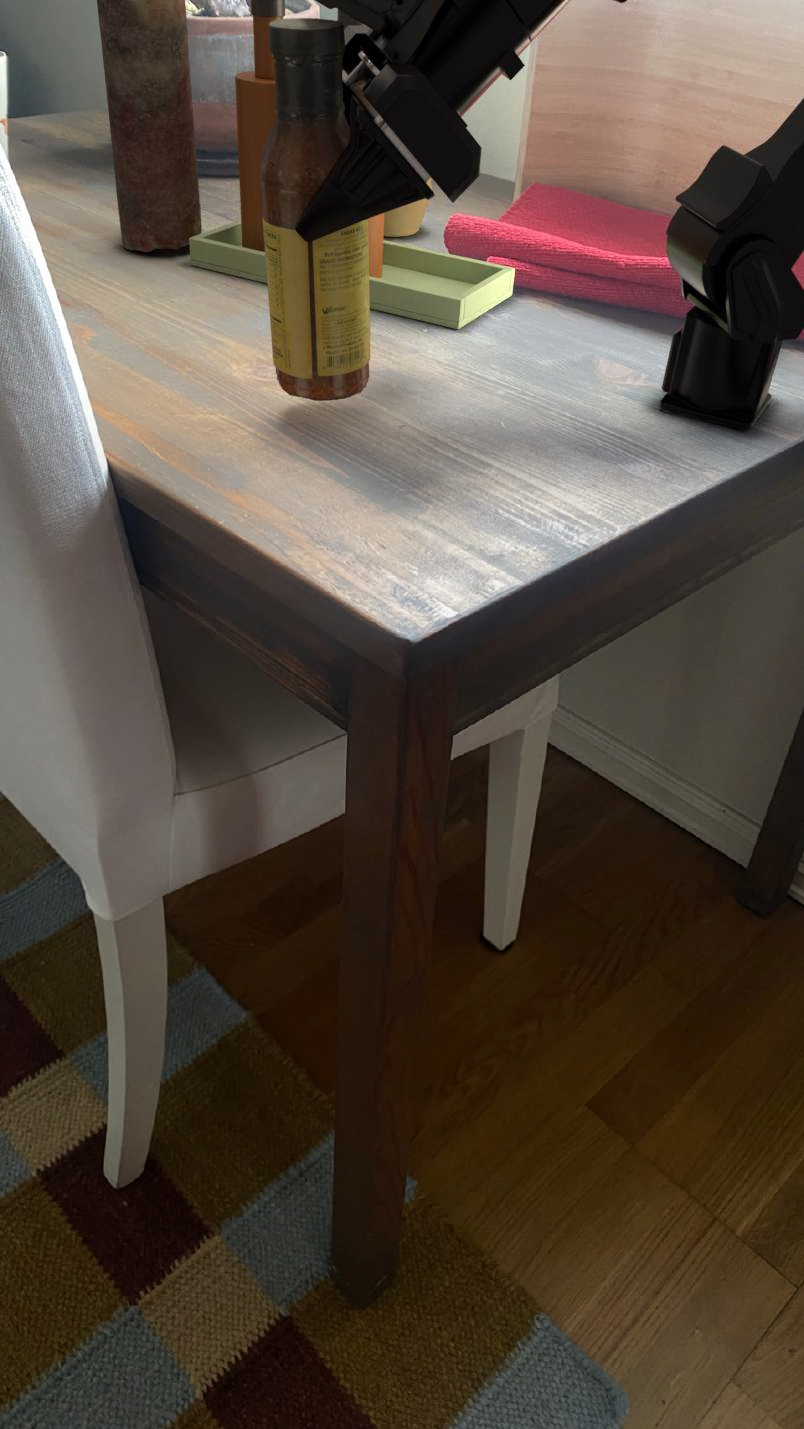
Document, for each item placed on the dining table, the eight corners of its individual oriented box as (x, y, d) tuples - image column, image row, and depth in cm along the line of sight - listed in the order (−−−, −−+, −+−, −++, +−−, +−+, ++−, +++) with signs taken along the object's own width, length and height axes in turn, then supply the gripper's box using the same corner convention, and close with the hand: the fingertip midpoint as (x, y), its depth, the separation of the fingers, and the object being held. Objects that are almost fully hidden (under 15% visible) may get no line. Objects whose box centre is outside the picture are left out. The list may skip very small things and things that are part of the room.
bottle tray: (512, 295, 90) (544, 23, 78) (458, 329, 83) (484, 35, 70) (259, 238, 100) (251, -14, 87) (190, 265, 92) (170, -7, 80)
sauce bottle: (375, 371, 70) (384, 18, 57) (363, 409, 65) (370, 33, 52) (278, 364, 70) (266, 11, 57) (259, 401, 65) (242, 24, 53)
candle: (140, 230, 100) (114, -25, 87) (214, 238, 99) (199, -18, 86) (109, 252, 94) (77, -18, 81) (187, 260, 93) (167, -10, 80)
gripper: (366, -147, 58) (183, 77, 63) (432, -143, 44) (191, 145, 49) (489, 24, 64) (313, 216, 70) (581, 76, 50) (353, 311, 56)
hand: (294, 219), depth 61 cm, fingers closed on sauce bottle, 6 cm apart
